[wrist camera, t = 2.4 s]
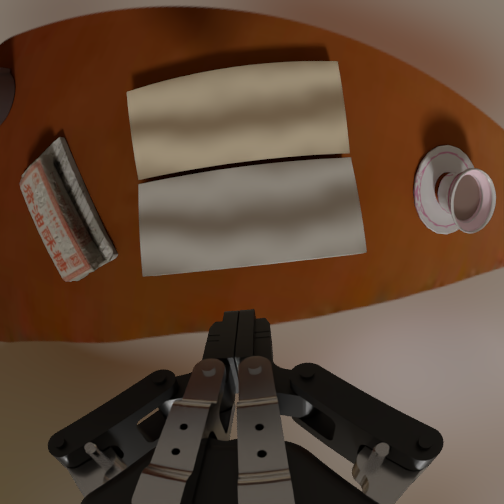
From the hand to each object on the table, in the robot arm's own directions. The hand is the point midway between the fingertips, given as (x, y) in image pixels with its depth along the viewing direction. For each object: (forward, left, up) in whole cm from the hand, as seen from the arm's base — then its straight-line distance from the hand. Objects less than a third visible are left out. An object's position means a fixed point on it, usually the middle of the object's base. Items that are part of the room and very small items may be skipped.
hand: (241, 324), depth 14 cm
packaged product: (-5, -24, -20) cm, 32 cm away
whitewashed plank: (-1, 0, -16) cm, 16 cm away
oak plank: (-12, 0, -19) cm, 22 cm away
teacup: (-2, +26, -19) cm, 33 cm away
